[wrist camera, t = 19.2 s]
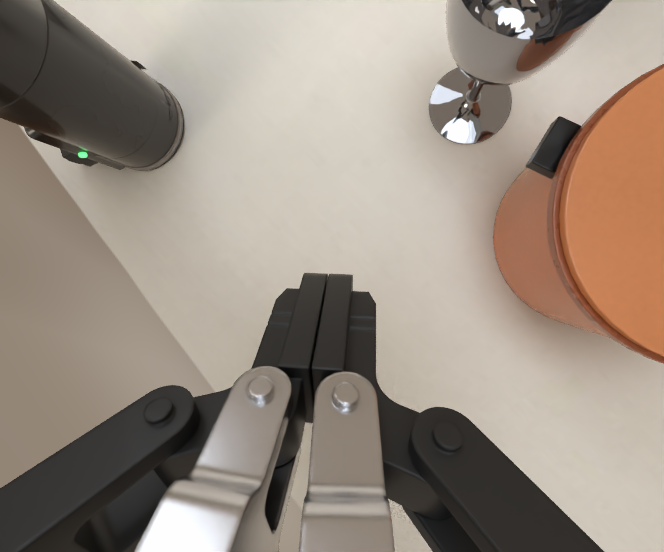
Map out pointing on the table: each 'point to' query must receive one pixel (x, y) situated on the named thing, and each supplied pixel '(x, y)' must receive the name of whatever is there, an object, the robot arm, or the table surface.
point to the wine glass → (500, 57)
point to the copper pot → (594, 221)
